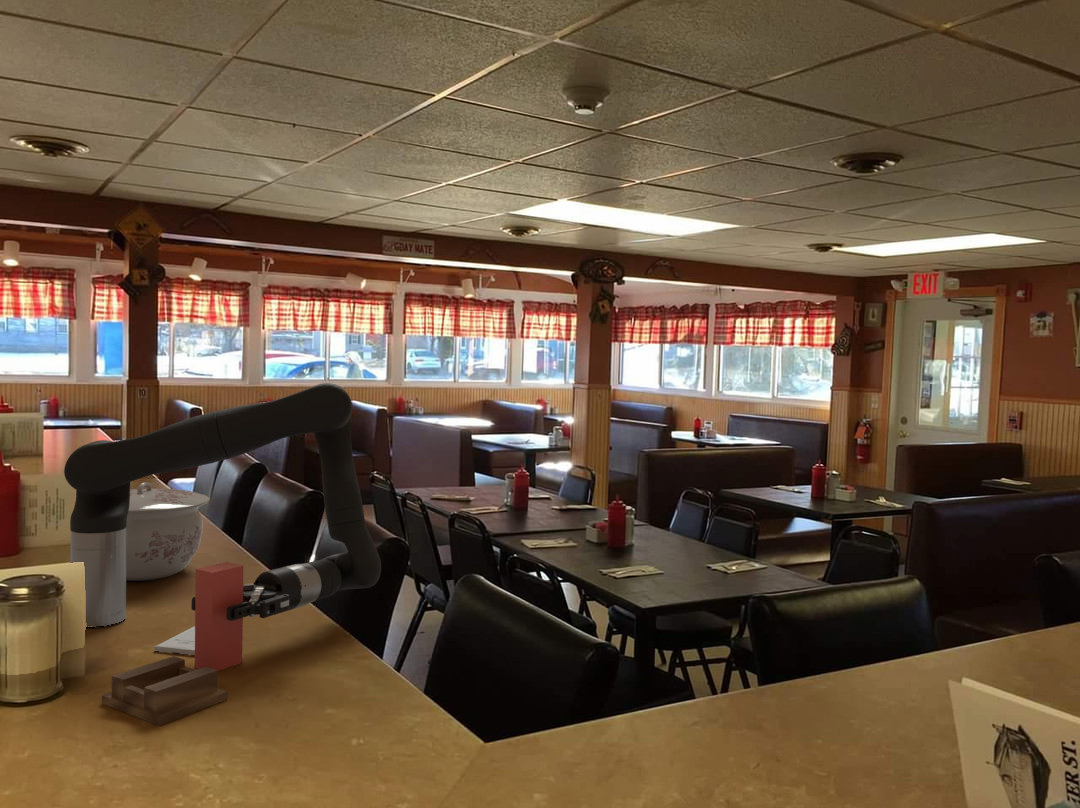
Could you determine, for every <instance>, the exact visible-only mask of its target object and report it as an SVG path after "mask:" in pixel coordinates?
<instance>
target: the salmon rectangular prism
mask: <svg viewBox="0 0 1080 808" xmlns="http://www.w3.org/2000/svg"><path fill="white" fill-rule="evenodd" d="M243 585H244V565H242V564H238V563H234V562H229V561H226V562H221V563H220V562H219V563H216V564H212V565H208V566H203V567H198V568H195V589H194V590H195V593H194V594H195V596H194V597H195V611H194V615H195V617H194V626H195V656H194V669H195V670H197V669H200V668H203V667H209V668H212V669H215V670H218V672H219V671H222V670H224V669H228V668H231V667H234V666H236V665H239V664H242V663H243V638H244V637H243V631H244V630H243V629H244V628H243V627H244V626H243V624H244V623H243V621H244V617H243V618H240V619H237V620H233V621H230V620H227V608H228V607H229V606H232V605H236V604H239V603H243ZM241 662H242V663H241ZM238 663H239V664H238ZM233 665H234V666H233ZM230 666H231V667H230ZM227 667H228V668H227Z"/></svg>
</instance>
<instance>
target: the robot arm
mask: <svg viewBox="0 0 1080 808" xmlns="http://www.w3.org/2000/svg"><path fill="white" fill-rule="evenodd" d="M352 415H353V402H352V399H351V397H350V395H349V394H348V392H347V391H346V390H345V389H344V388H343V387H342V386H340V385H337V384H335V383H332V382H323V383H319V384H316V385H314V386H311V387H307V388H305V389H303V390H301V391H300V390H299V391H298V392H296V393H292V394H290V395H289V394H288V395H287V396H284V397H281V398H277V399H273V400H270V401H266V402H258V403H252V404H246V405H239V406H234V407H229V408H225V409H219V410H216V411H215V410H214V411H211V412H207V413H204V414H200V415H196V416H193V417H189V418H186V419H183V420H180V421H177V422H175V423H172V424H170V425H167V426H165V427H162V428H159V429H157V430H154V431H152V432H150V433H147V434H143V435H141V436H135V437H132V438H126V439H120V440H114V441H112V440H107V439H105V440H104V439H102V440H96V441H92V442H89V443H87V444H84V445H81V446H79V447H78V448H76V449H75V450H74V451H73V452H72V453H70V455H69V457H68V458H67V460H66V461H65V464H64V469H63V473H64V478H65V480H66V482H67V483H68V485H69V486H71V487H72V489H74V490H75V491H76V492H75V502H74V507H73V510H72V513H71V515H70V523H69V524H70V525H69V526H70V527H69V528H70V532H69V533H70V537H69V539H70V542H69V543H70V550H69V551H70V556H69V557H70V558H69V560H70V563H73V562H84V566H85V590H86V623H87V627H88V626H89V627H90V626H104V627H108V626H107V625H109V626H112V625H111V624H114V625H116V624H115V623H117V624H120V623H122V622H123V620H124V619H125V620H126V617H127V581H126V532H127V527H126V526H127V515H128V511H129V504H130V489H131V483H132V482H134V481H137V480H140V479H143V478H146V477H148V476H149V477H150V476H154V475H157V474H163V473H168V472H174V471H181V470H185V469H186V470H187V469H192V468H196V467H197V468H198V467H200V466H206V465H209V464H214V463H217V462H222V461H226V460H228V459H229V460H230V459H232V458H236V457H239V456H240V457H241V456H242V455H245V454H248V453H250V452H251V453H252V452H253V451H256V450H258V449H261V448H262V447H264V446H267V445H269V444H272V443H274V442H277V441H279V440H282V439H285V438H289V437H295V436H300V435H306V434H311V433H312V434H313V435H314V438H315V441H316V445H317V449H318V454H319V458H320V466H321V467H320V468H321V476H322V477H321V479H322V492H323V504H324V510H325V517H326V523H327V527H328V528H327V529H328V534H329V537H330V539H332V540H333V541H337V542H341V543H342V544H343V545H344V546H345V548H346V550H347V552H346V551H345V552H340V553H334V554H332V555H331V554H330V555H329V556H326V557H324V558H321V559H319V560H318V559H317V560H314V561H310V562H309V561H308V562H305V563H295V564H291V565H286V566H282V567H279V568H278V567H277V568H274V569H269V570H266V571H264V572H261V573H260V574H259V575H257V577H256V578H255V580H254V582H253V583H243V603H239V604H236V605H232V606H229V607H228V608H227V620H230V621H233V620H237V619H240V618H243V619H244V618H246V617H251V618H254V617H257V616H259V618H260V619H266V618H269V617H271V616H275V615H279V614H281V613H285V612H288V611H292V610H295V609H298V608H302V607H305V606H307V605H308V604H310V603H313V602H316V601H319V600H323V599H326V598H329V597H330V596H333V595H334V594H335V593H337V592H339V591H345V590H356V589H368V588H372V587H373V586H375V585H376V584H377V583H378V582H379V580H380V577H381V572H382V563H381V562H382V561H381V556H380V555H379V552H378V550H377V548H376V545H375V543H374V541H373V539H372V536H371V534H370V532H369V529H368V528H367V525H366V524H367V523H366V519H365V513H364V512H365V511H364V506H363V499H362V495H361V494H362V493H361V489H360V485H359V480H358V477H357V472H356V471H357V470H356V467H355V462H354V461H355V460H354V454H353V449H352V448H353V446H352V431H351V430H352ZM70 563H69V564H70ZM190 610H192V611H194V612H195V596H193V597H192V598H191V609H190ZM125 620H124V621H125ZM121 621H122V622H121ZM119 622H120V623H119Z"/></svg>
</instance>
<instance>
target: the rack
mask: <svg viewBox="0 0 1080 808" xmlns="http://www.w3.org/2000/svg"><path fill="white" fill-rule="evenodd" d="M185 663H186V660H185V659H184V658H180V657H177V656H169V657H168V658H165V659H161V660H158V661H154V662H152V663H151V662H150V663H148V664H145V665H142V666H138V667H135V668H131V669H129V670H125V671H123V672H120V673H116V674H113V675H111V692H107V693H104V694H102V696H101V704H102V705H105V706H107V707H110V708H113V709H115V710H117V711H120V712H123V713H125V714H128V715H130V716H133V717H136V718H138V719H141V720H143V721H145V722H148V723H151V724H153V725H156V726H159V727H161V726H163V725H166V724H168V723H171V722H173V721H176V720H178V719H181V718H184V717H186V716H189V715H192V714H194V713H197V712H199V711H201V710H204V709H206V708H209V707H212V706H214V705H218V704H219V702H220V703H222V702H225V701H227V700H228V691H226V690H223V689H220V688H218V672H219V671H218V670H215V669H212V668H209V667H203V668H200V669H196V668H191V667H188V666H186V665H185Z"/></svg>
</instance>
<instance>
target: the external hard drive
mask: <svg viewBox="0 0 1080 808" xmlns="http://www.w3.org/2000/svg"><path fill="white" fill-rule="evenodd" d="M154 651H159V652H158V653H163V652H170V653H169V654H176V653H180V654H179V655H182V654H188V655H187V656H191V655H195V625H194V626H192V627H190V628H188V629H186V630H185V631H182V632H181V633H179V634H177V635H175V636H173V637H170V638H169V639H167V640H165V641H163V642H161V643H159V644H156V645H155V646H153V652H154Z"/></svg>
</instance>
